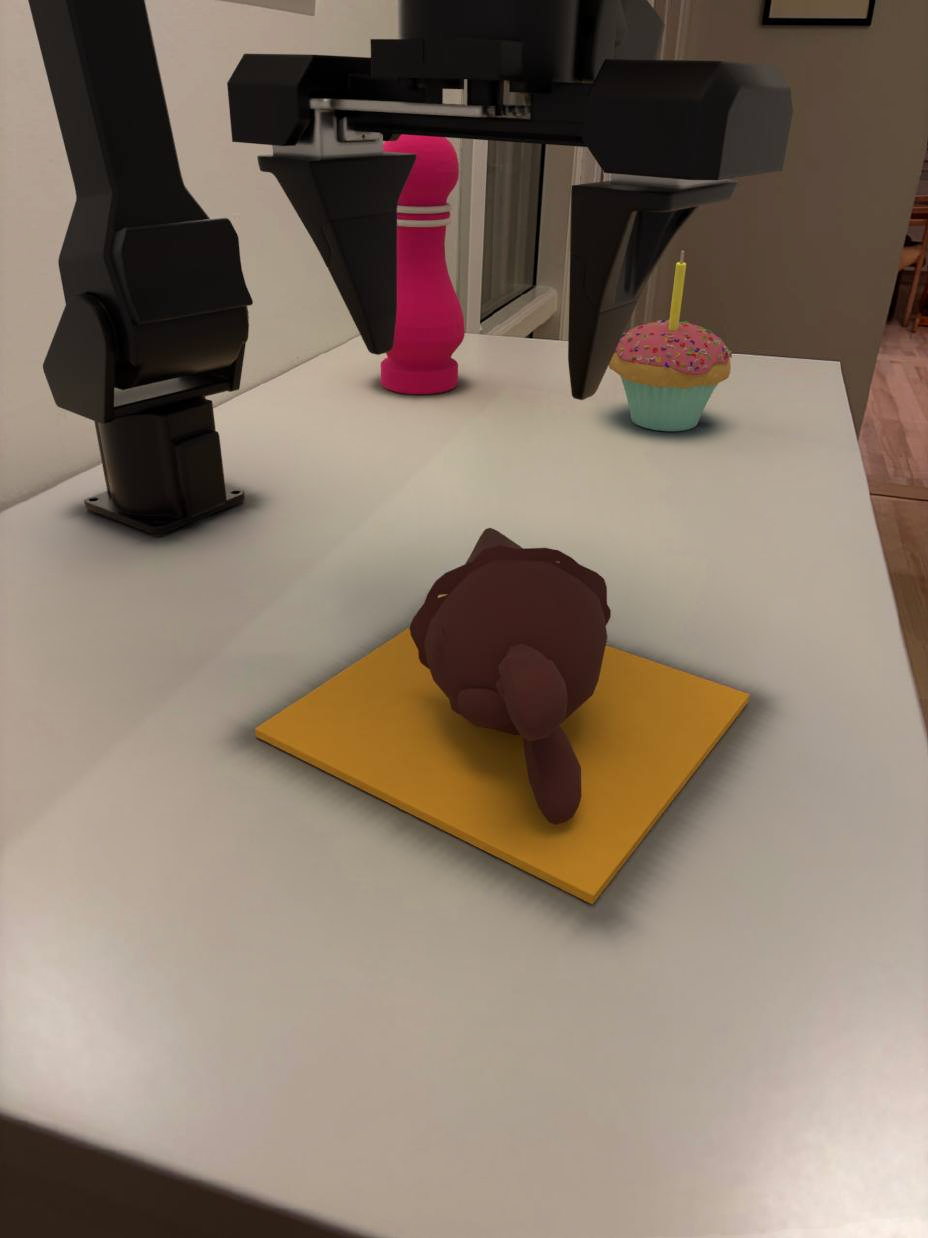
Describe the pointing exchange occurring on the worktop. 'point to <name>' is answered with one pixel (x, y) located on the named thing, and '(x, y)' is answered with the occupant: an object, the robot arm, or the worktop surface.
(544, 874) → the flat square board
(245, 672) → the worktop surface
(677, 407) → the cupcake
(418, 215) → the pepper mill
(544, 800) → the brown lumpy figure
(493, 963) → the worktop surface
